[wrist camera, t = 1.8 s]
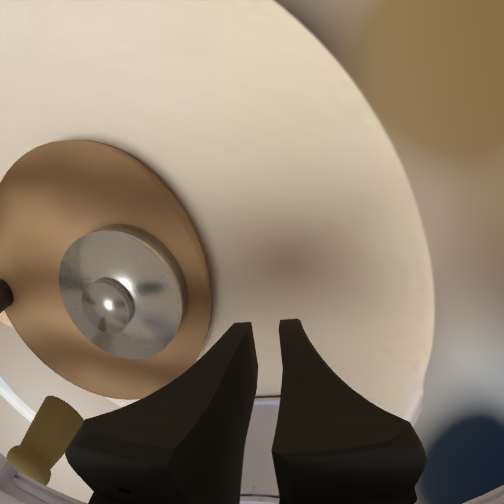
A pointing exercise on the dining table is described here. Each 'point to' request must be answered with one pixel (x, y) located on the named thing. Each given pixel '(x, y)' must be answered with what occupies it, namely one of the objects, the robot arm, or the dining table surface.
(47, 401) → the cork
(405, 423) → the robot arm
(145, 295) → the cover
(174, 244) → the turntable
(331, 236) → the dining table surface
